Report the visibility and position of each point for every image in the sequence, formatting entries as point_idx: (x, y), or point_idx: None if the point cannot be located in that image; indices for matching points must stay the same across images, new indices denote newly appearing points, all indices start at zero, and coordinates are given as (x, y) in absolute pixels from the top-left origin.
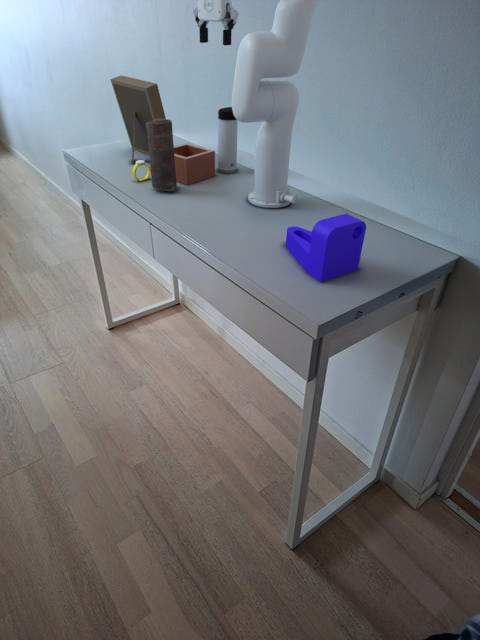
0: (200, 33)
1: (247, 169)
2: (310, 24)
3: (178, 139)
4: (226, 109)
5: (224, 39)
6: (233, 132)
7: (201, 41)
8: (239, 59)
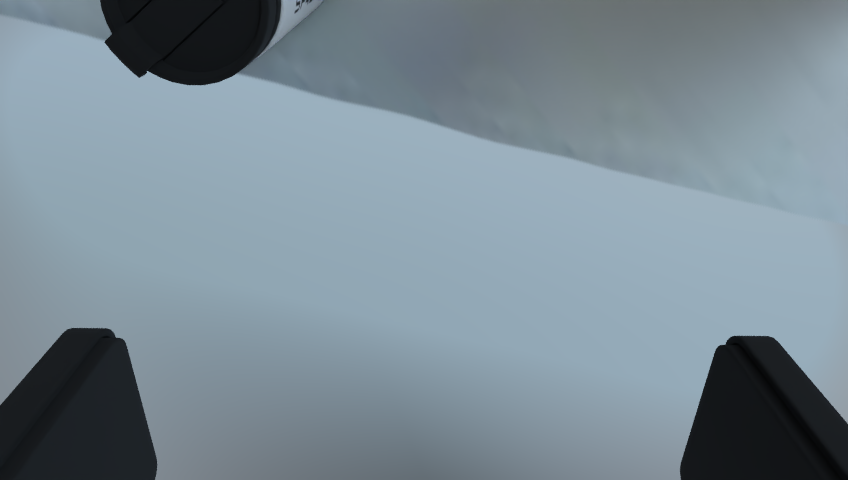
0: (838, 453)
1: None
2: None
3: (822, 204)
4: (221, 20)
5: (18, 394)
6: None
7: (731, 347)
8: None
